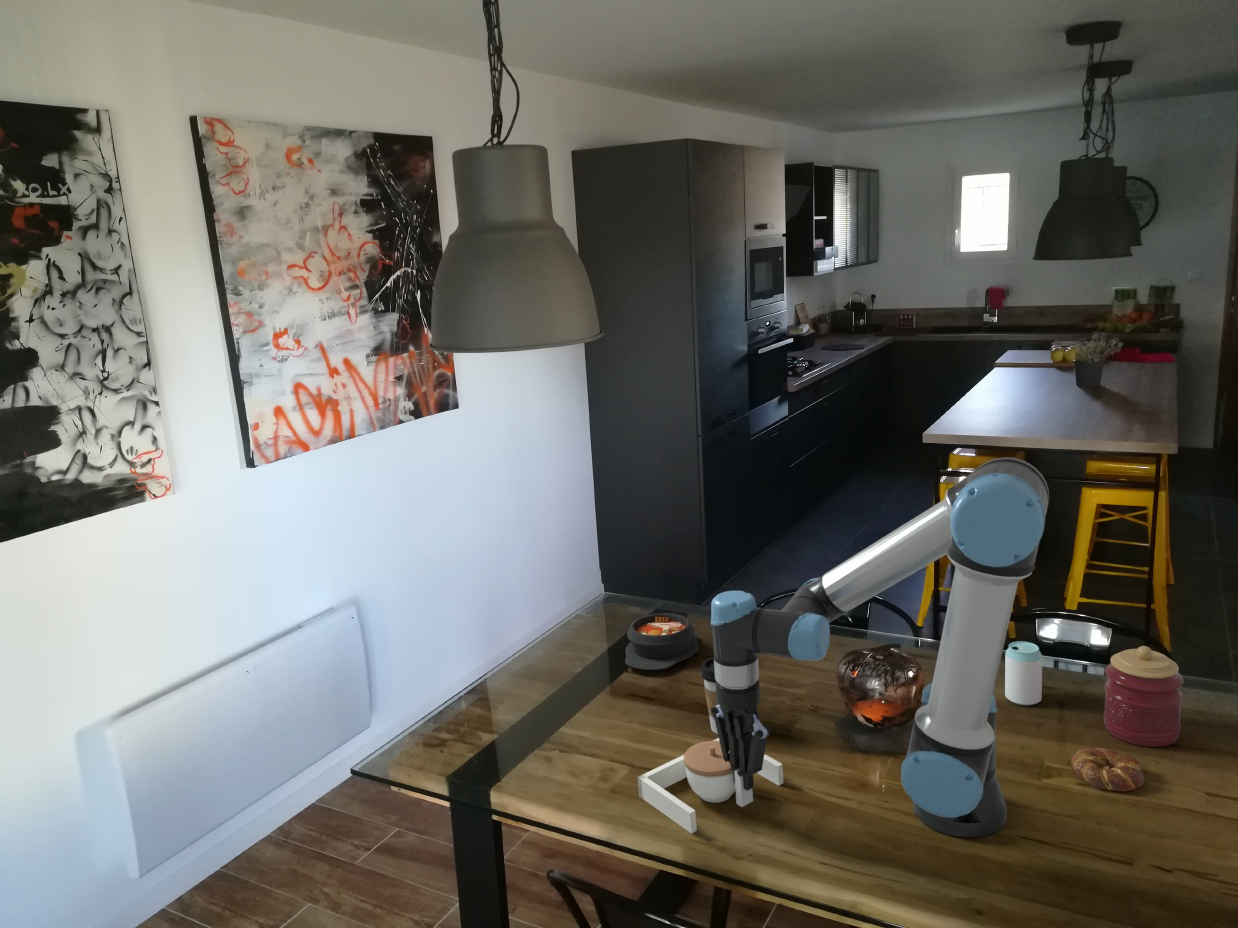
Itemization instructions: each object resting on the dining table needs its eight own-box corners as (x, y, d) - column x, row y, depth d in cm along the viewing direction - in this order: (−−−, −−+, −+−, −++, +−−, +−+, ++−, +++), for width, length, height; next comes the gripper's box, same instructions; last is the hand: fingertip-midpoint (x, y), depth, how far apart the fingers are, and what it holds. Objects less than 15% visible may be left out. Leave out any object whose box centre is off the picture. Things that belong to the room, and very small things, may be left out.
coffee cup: (744, 738, 184) (739, 671, 181) (703, 737, 186) (698, 671, 183) (746, 718, 192) (742, 653, 189) (707, 717, 194) (702, 653, 191)
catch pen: (783, 783, 168) (782, 763, 167) (691, 833, 155) (689, 813, 155) (728, 751, 180) (727, 733, 179) (639, 796, 168) (637, 776, 167)
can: (1024, 710, 186) (1025, 656, 183) (997, 696, 192) (997, 644, 189) (1049, 701, 188) (1050, 648, 186) (1021, 688, 195) (1022, 636, 192)
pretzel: (1057, 775, 163) (1057, 757, 163) (1088, 752, 170) (1088, 734, 169) (1126, 802, 154) (1126, 783, 153) (1156, 777, 160) (1156, 759, 159)
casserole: (647, 631, 242) (645, 602, 240) (713, 638, 234) (711, 608, 232) (608, 672, 220) (605, 640, 218) (679, 681, 212) (676, 648, 210)
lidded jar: (729, 816, 159) (726, 768, 157) (676, 801, 165) (672, 755, 163) (753, 784, 168) (751, 739, 166) (702, 771, 174) (699, 727, 172)
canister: (1187, 726, 175) (1192, 642, 171) (1171, 755, 166) (1175, 667, 162) (1113, 708, 184) (1117, 627, 180) (1094, 735, 174) (1097, 651, 171)
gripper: (780, 685, 151) (786, 809, 157) (727, 661, 162) (735, 779, 167) (747, 700, 147) (755, 827, 152) (696, 675, 158) (704, 795, 163)
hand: (744, 802), depth 160 cm, fingers closed
